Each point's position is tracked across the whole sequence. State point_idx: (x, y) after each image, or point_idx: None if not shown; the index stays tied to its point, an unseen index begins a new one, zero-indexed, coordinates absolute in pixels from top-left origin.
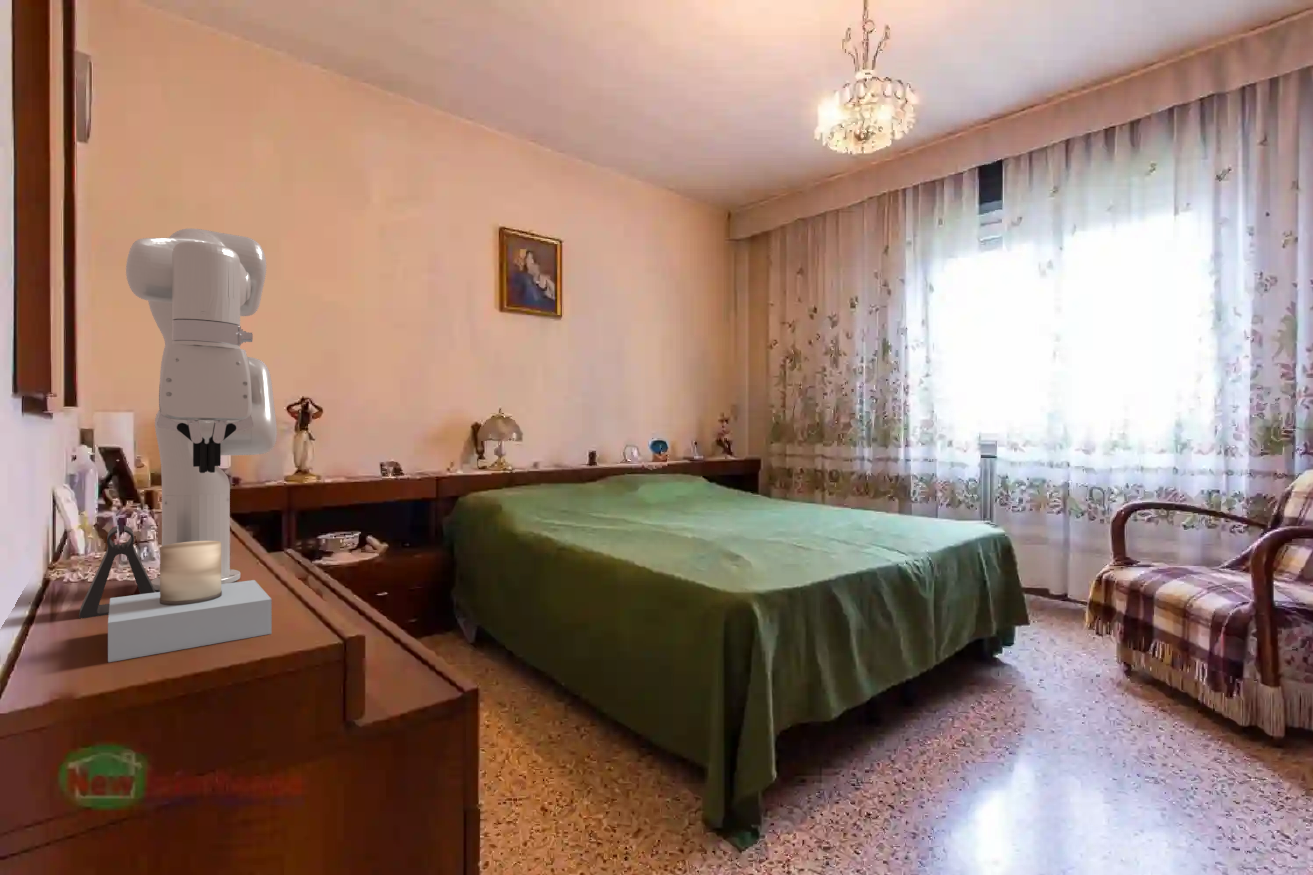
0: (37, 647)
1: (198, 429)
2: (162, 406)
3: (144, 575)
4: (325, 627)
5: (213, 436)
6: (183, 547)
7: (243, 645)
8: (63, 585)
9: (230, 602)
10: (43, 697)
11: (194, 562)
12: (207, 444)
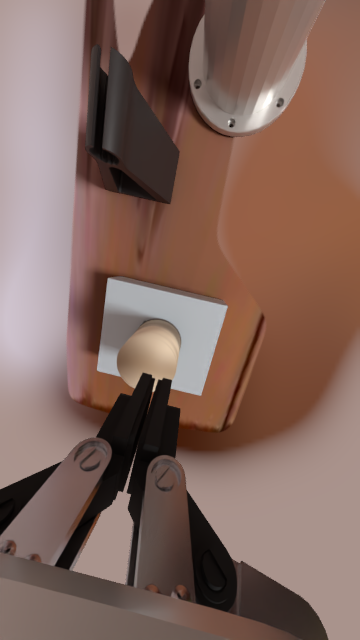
0: (77, 277)
1: (66, 564)
2: None
3: (149, 187)
4: (231, 394)
5: (131, 536)
6: (135, 377)
7: None
8: None
9: (174, 380)
10: (79, 391)
11: None
12: (133, 464)
